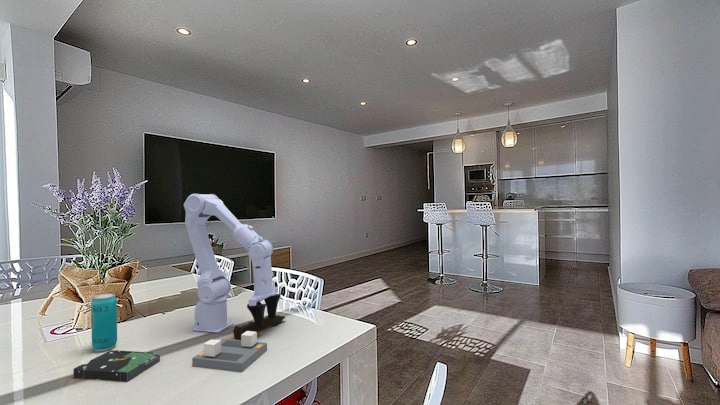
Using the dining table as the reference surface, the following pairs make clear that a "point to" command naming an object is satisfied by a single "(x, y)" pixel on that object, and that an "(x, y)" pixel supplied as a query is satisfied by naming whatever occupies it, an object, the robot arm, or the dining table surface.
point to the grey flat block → (231, 356)
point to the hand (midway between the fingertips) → (266, 321)
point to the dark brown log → (252, 326)
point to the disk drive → (117, 365)
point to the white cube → (212, 348)
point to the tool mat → (257, 333)
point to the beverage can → (104, 322)
